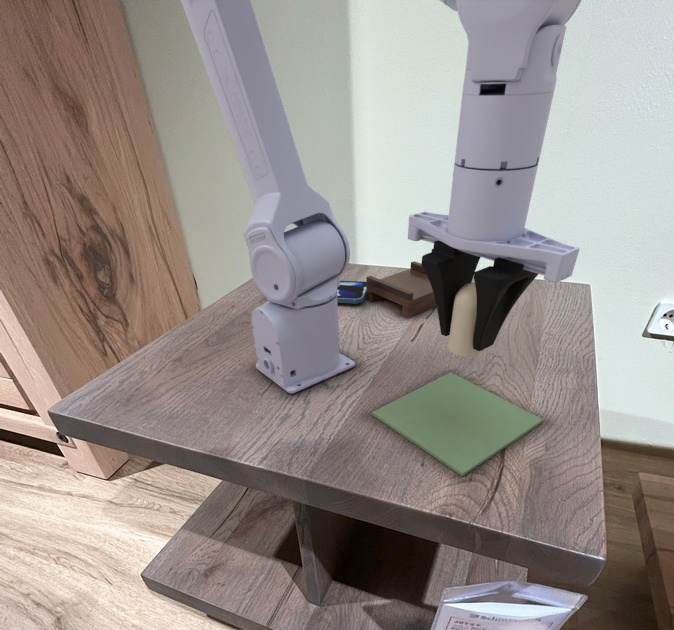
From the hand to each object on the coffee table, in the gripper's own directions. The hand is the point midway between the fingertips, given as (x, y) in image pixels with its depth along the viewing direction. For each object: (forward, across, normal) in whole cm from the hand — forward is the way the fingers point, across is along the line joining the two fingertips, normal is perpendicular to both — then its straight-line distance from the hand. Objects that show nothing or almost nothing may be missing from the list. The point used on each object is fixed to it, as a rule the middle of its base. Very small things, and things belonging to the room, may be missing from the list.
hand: (466, 339), depth 41 cm
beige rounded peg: (+1, 0, 0) cm, 1 cm away
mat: (+8, 0, 0) cm, 9 cm away
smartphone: (+8, +35, -9) cm, 37 cm away
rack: (+8, +24, -18) cm, 31 cm away
